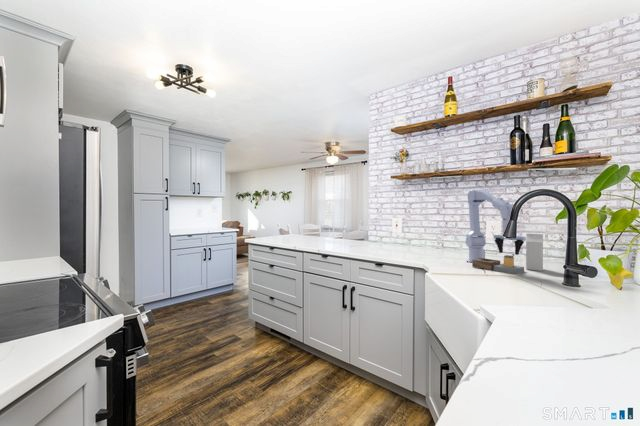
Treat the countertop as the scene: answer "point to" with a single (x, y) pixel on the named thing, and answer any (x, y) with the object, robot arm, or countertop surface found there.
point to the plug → (508, 261)
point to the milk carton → (534, 252)
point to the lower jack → (509, 269)
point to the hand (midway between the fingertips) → (508, 253)
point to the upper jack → (485, 263)
